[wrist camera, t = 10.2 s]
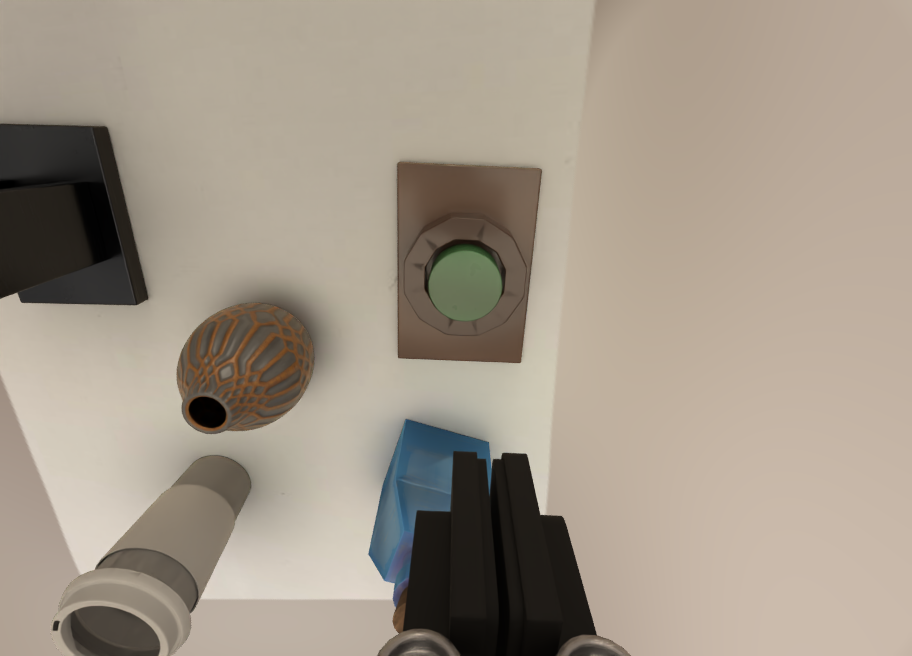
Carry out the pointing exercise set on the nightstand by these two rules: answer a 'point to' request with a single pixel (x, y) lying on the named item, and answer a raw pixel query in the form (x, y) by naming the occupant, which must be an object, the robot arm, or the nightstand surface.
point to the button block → (464, 222)
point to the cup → (155, 569)
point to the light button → (465, 282)
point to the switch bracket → (64, 218)
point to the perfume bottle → (415, 498)
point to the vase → (244, 368)
